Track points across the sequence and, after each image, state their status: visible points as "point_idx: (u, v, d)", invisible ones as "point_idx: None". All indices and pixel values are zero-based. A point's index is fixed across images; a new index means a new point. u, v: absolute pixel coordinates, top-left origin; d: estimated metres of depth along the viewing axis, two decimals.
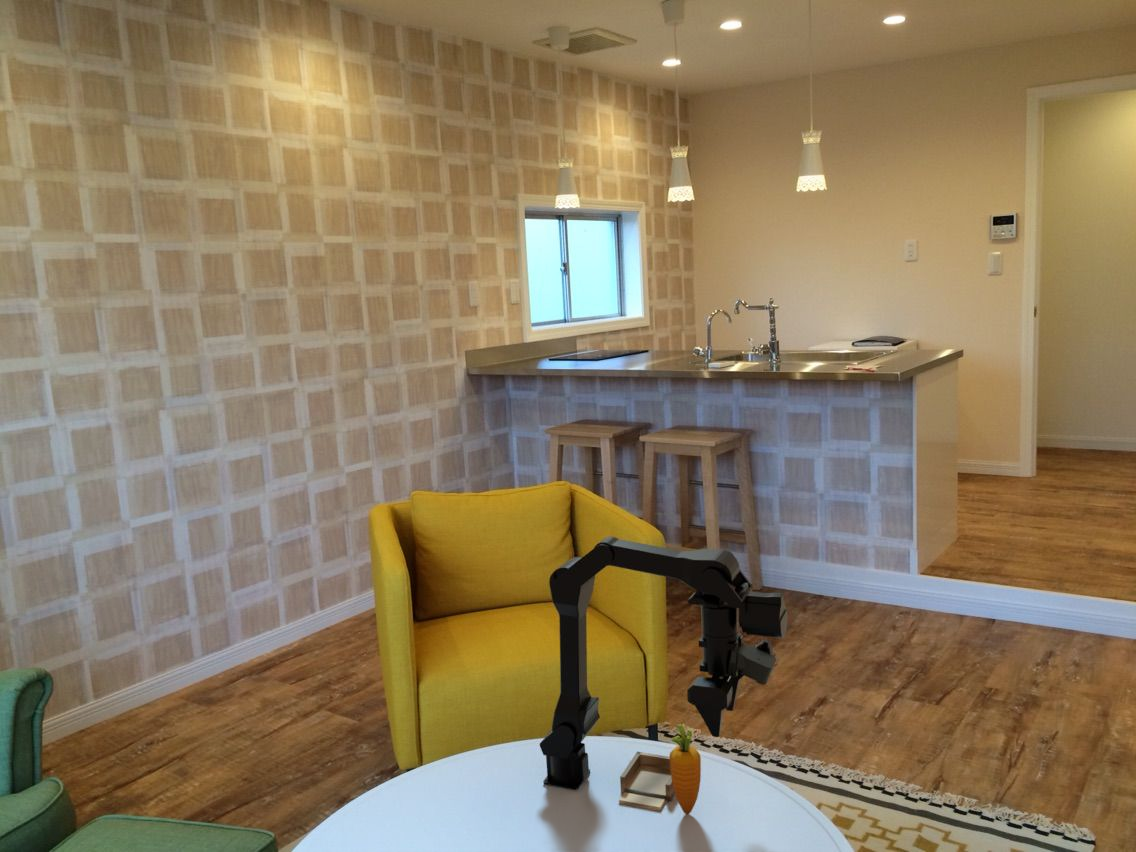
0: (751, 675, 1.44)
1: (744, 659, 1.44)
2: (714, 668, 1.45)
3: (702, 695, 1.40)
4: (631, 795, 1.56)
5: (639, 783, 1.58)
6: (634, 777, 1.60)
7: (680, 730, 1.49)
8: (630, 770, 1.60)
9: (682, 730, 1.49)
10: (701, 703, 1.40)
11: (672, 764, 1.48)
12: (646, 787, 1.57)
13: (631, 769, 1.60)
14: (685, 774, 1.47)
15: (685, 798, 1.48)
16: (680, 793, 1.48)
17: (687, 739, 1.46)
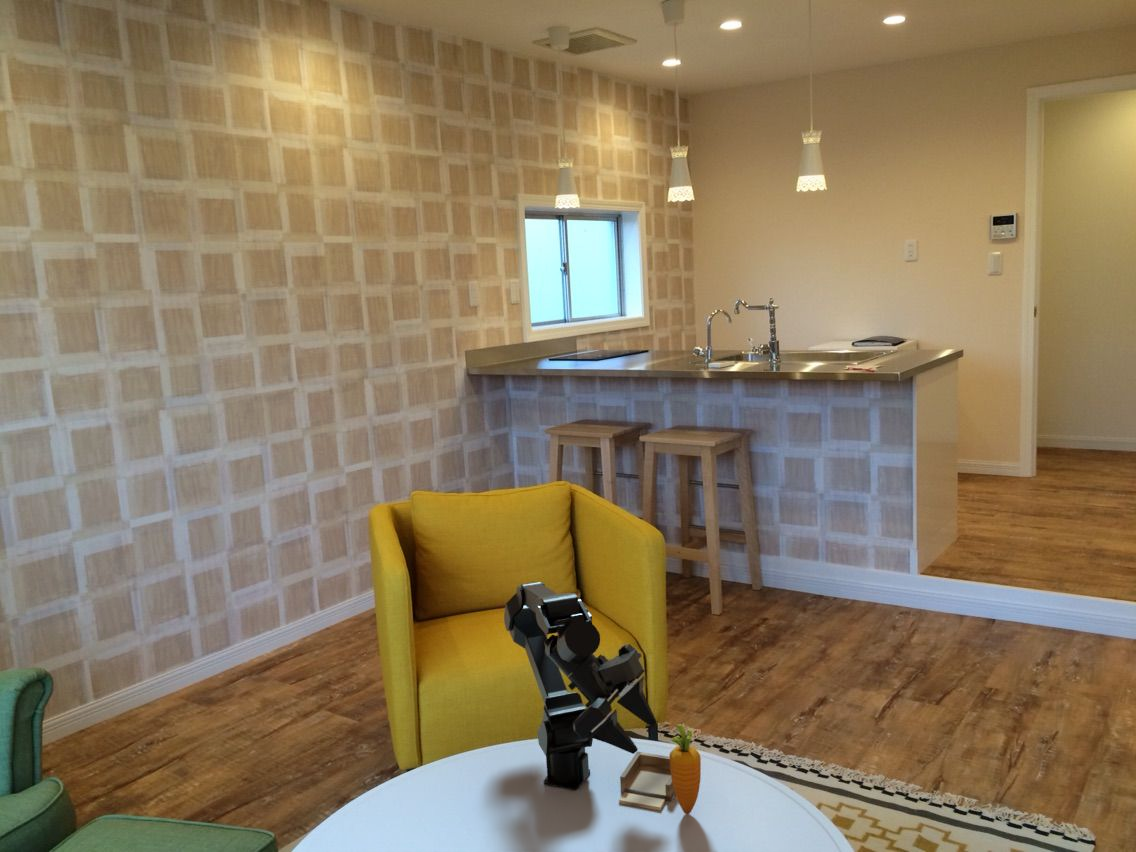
0: (619, 679, 1.48)
1: (605, 671, 1.49)
2: (593, 697, 1.50)
3: (583, 724, 1.44)
4: (631, 795, 1.56)
5: (639, 783, 1.58)
6: (634, 777, 1.60)
7: (680, 730, 1.49)
8: (630, 770, 1.60)
9: (682, 730, 1.49)
10: (588, 731, 1.44)
11: (672, 764, 1.48)
12: (646, 787, 1.57)
13: (631, 769, 1.60)
14: (685, 774, 1.47)
15: (685, 798, 1.48)
16: (680, 793, 1.48)
17: (687, 739, 1.46)
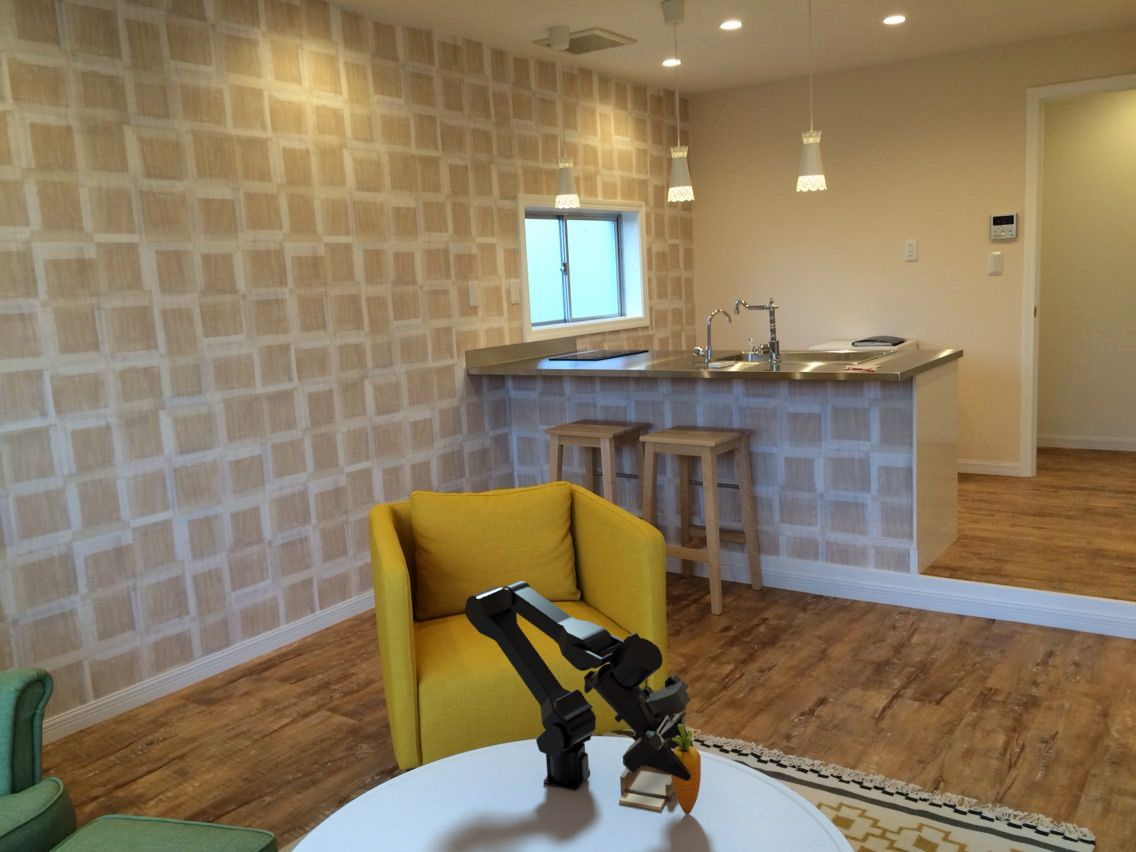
0: (668, 711, 1.46)
1: (653, 703, 1.47)
2: (641, 730, 1.48)
3: (633, 758, 1.42)
4: (631, 795, 1.56)
5: (639, 783, 1.58)
6: (634, 777, 1.60)
7: (680, 730, 1.49)
8: None
9: (682, 730, 1.49)
10: (638, 765, 1.42)
11: None
12: (646, 787, 1.57)
13: None
14: None
15: (685, 798, 1.48)
16: (680, 793, 1.48)
17: (687, 739, 1.46)
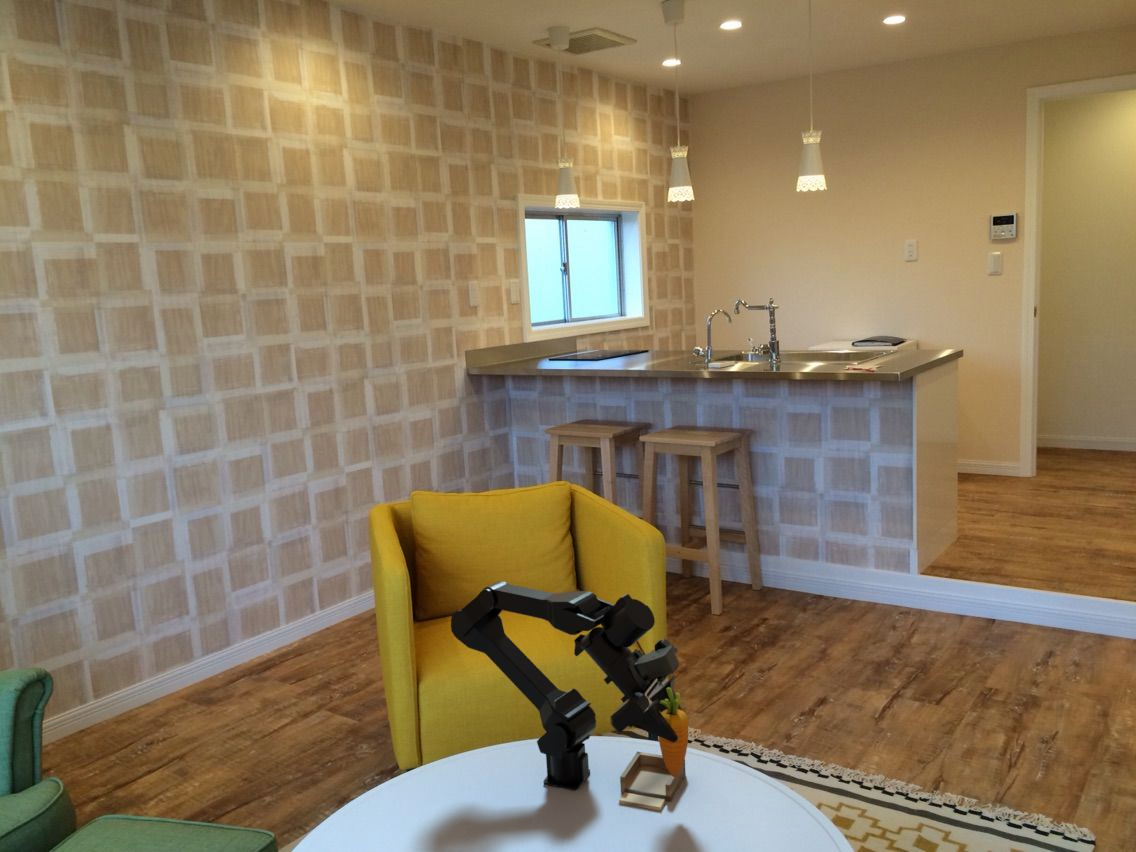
0: (656, 674, 1.48)
1: (642, 665, 1.48)
2: (629, 692, 1.50)
3: (621, 718, 1.44)
4: (631, 795, 1.56)
5: (639, 783, 1.58)
6: (634, 777, 1.60)
7: (669, 693, 1.51)
8: (630, 770, 1.60)
9: (671, 693, 1.50)
10: (626, 725, 1.43)
11: None
12: (646, 787, 1.57)
13: (631, 769, 1.60)
14: None
15: (672, 760, 1.50)
16: (667, 756, 1.50)
17: (675, 702, 1.48)
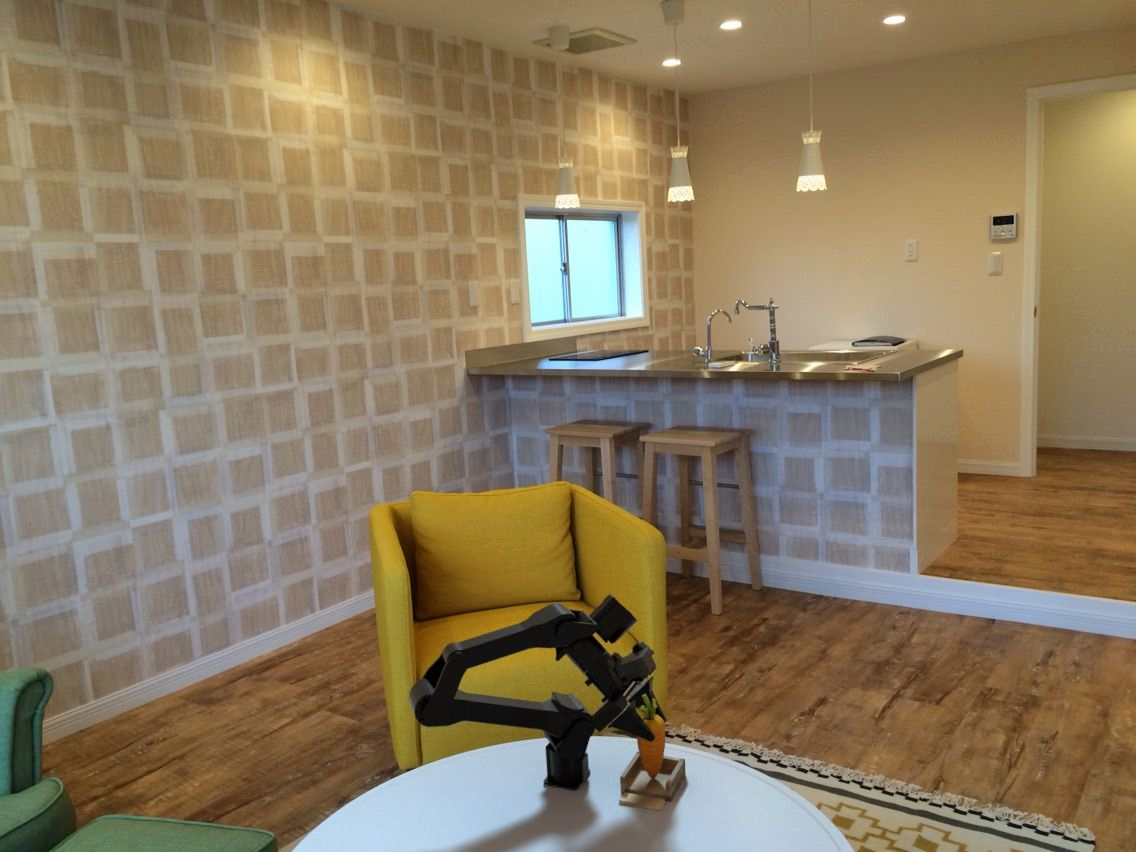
0: (634, 675, 1.55)
1: (620, 667, 1.56)
2: (609, 693, 1.57)
3: (601, 718, 1.51)
4: (631, 795, 1.56)
5: (639, 783, 1.58)
6: (634, 777, 1.60)
7: (645, 700, 1.58)
8: (630, 770, 1.60)
9: (647, 700, 1.58)
10: (605, 725, 1.51)
11: None
12: (646, 787, 1.57)
13: (631, 769, 1.60)
14: (653, 741, 1.56)
15: (653, 763, 1.57)
16: (648, 759, 1.57)
17: (654, 707, 1.55)
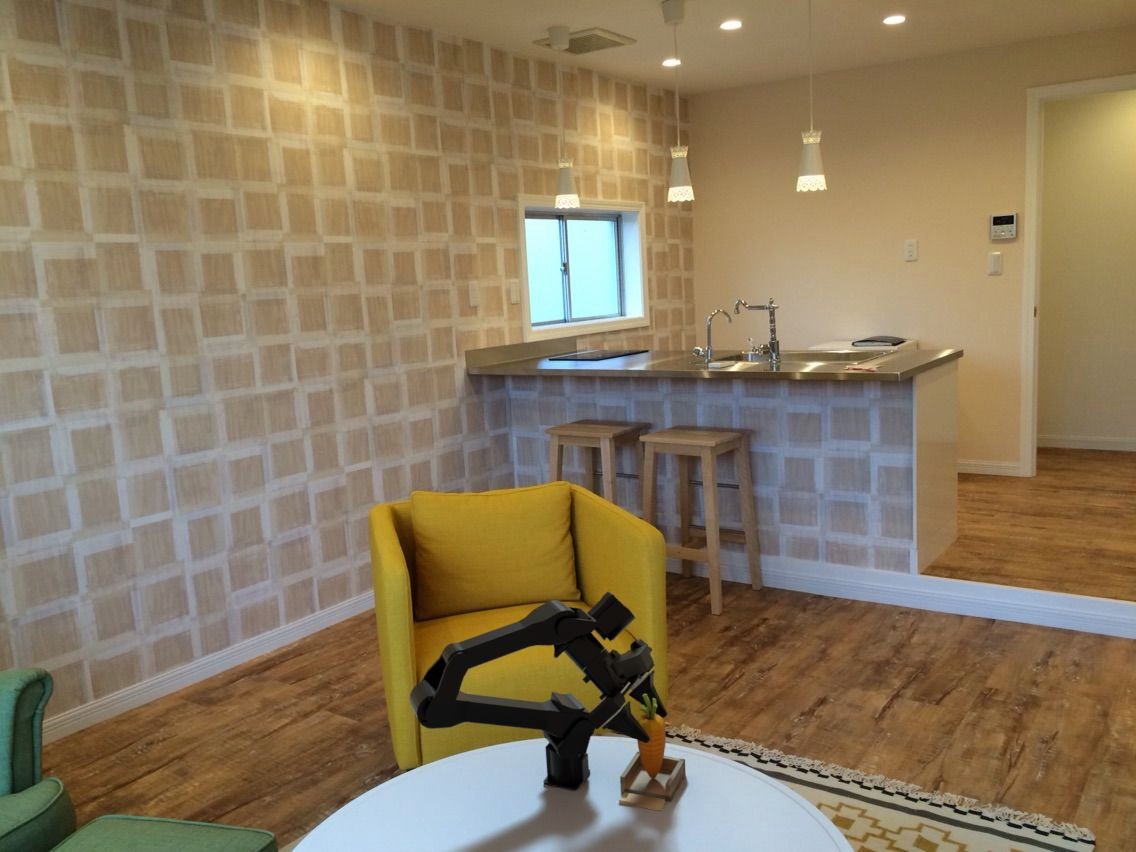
0: (632, 672, 1.55)
1: (618, 664, 1.56)
2: (607, 690, 1.57)
3: (598, 715, 1.51)
4: (631, 795, 1.56)
5: (639, 783, 1.58)
6: (634, 777, 1.60)
7: (645, 699, 1.58)
8: (630, 770, 1.60)
9: (647, 699, 1.58)
10: (603, 722, 1.51)
11: None
12: (646, 787, 1.57)
13: (631, 769, 1.60)
14: (653, 740, 1.56)
15: (653, 763, 1.57)
16: (648, 759, 1.57)
17: (654, 707, 1.55)
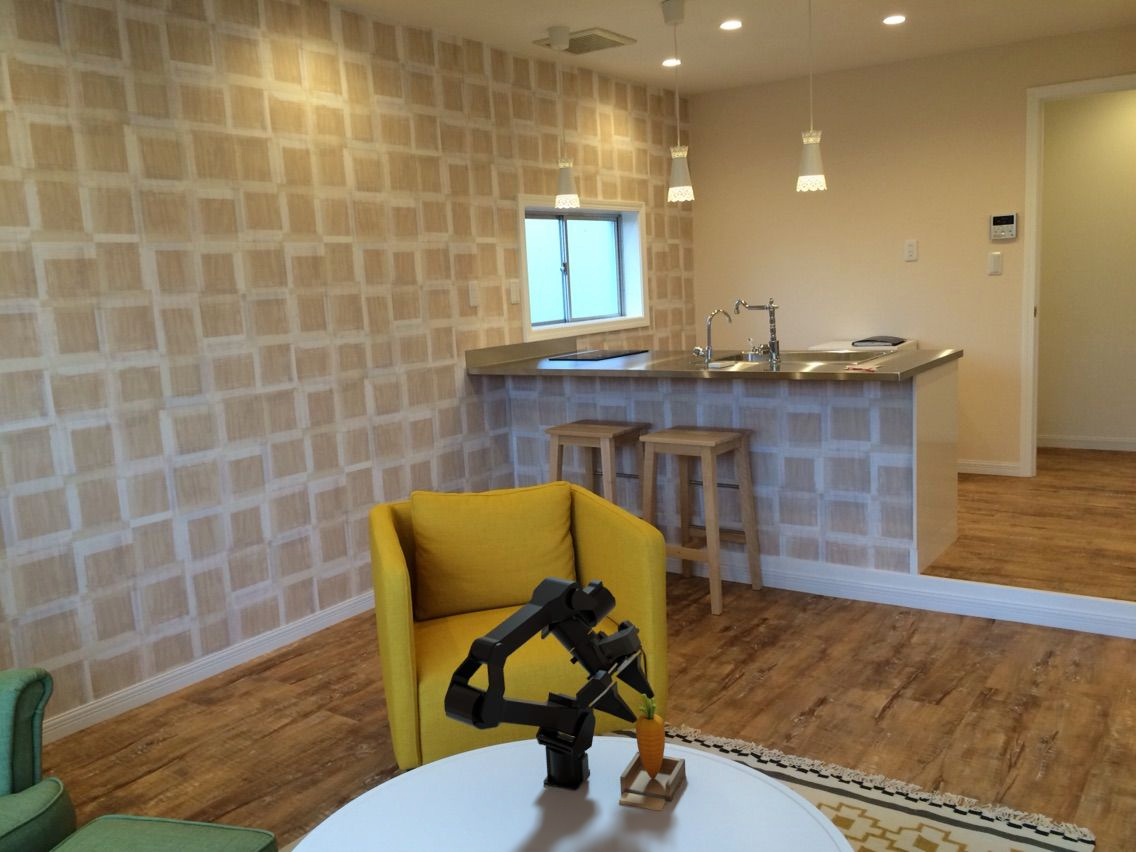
0: (619, 652, 1.55)
1: (605, 645, 1.56)
2: (594, 671, 1.57)
3: (585, 695, 1.51)
4: (631, 795, 1.56)
5: (639, 783, 1.58)
6: (634, 777, 1.60)
7: (644, 699, 1.58)
8: (630, 770, 1.60)
9: (646, 699, 1.58)
10: (590, 701, 1.51)
11: (639, 732, 1.57)
12: (646, 787, 1.57)
13: (631, 769, 1.60)
14: (652, 740, 1.56)
15: (652, 763, 1.57)
16: (647, 759, 1.57)
17: (653, 707, 1.55)
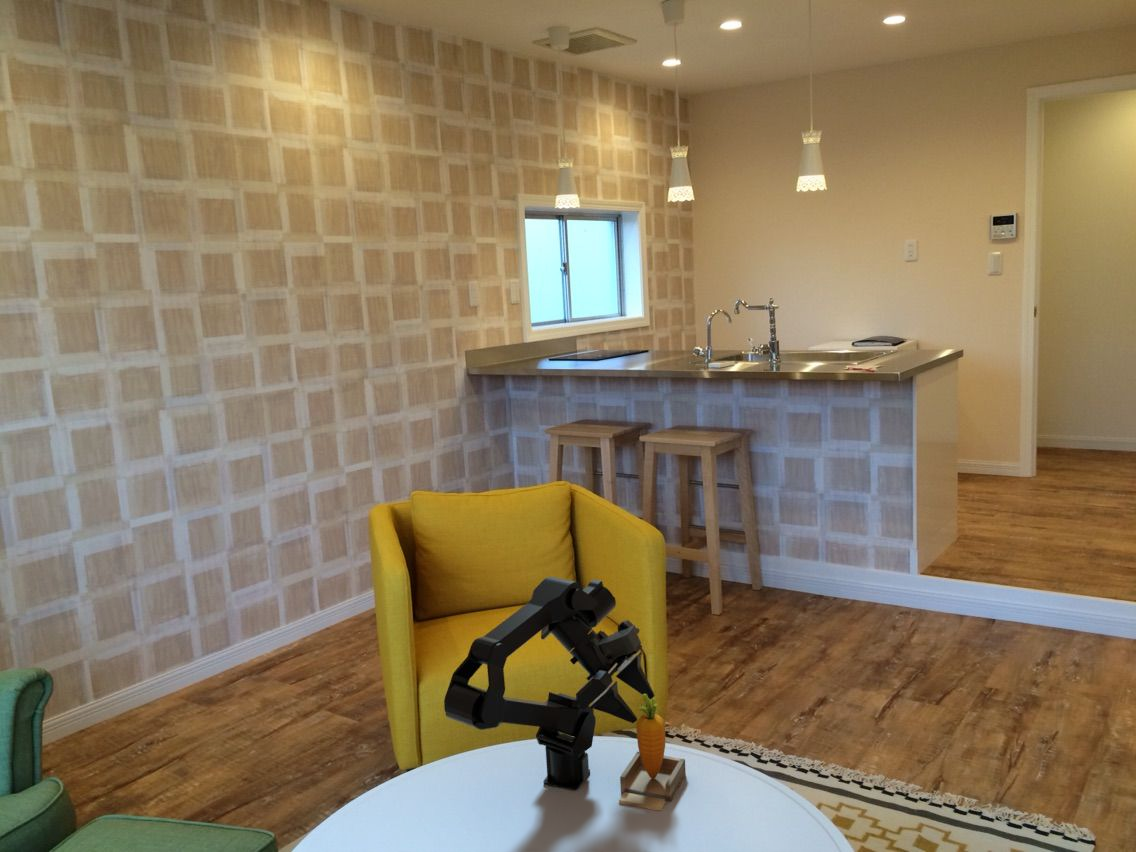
0: (619, 652, 1.55)
1: (605, 645, 1.56)
2: (594, 671, 1.57)
3: (585, 695, 1.51)
4: (631, 795, 1.56)
5: (639, 783, 1.58)
6: (634, 777, 1.60)
7: (645, 699, 1.58)
8: (630, 770, 1.60)
9: (647, 699, 1.58)
10: (590, 701, 1.51)
11: (640, 732, 1.57)
12: (646, 787, 1.57)
13: (631, 769, 1.60)
14: (653, 740, 1.56)
15: (653, 763, 1.57)
16: (648, 759, 1.57)
17: (654, 706, 1.55)
